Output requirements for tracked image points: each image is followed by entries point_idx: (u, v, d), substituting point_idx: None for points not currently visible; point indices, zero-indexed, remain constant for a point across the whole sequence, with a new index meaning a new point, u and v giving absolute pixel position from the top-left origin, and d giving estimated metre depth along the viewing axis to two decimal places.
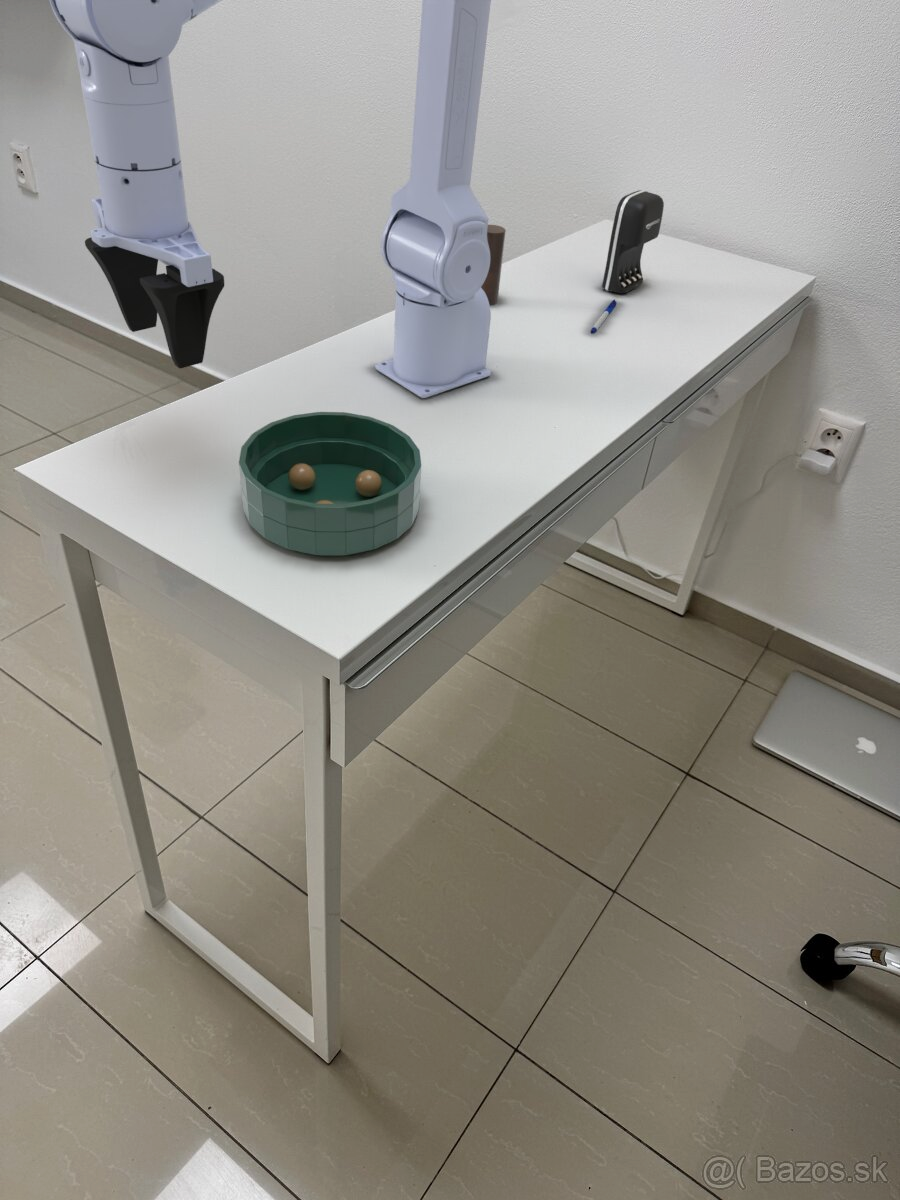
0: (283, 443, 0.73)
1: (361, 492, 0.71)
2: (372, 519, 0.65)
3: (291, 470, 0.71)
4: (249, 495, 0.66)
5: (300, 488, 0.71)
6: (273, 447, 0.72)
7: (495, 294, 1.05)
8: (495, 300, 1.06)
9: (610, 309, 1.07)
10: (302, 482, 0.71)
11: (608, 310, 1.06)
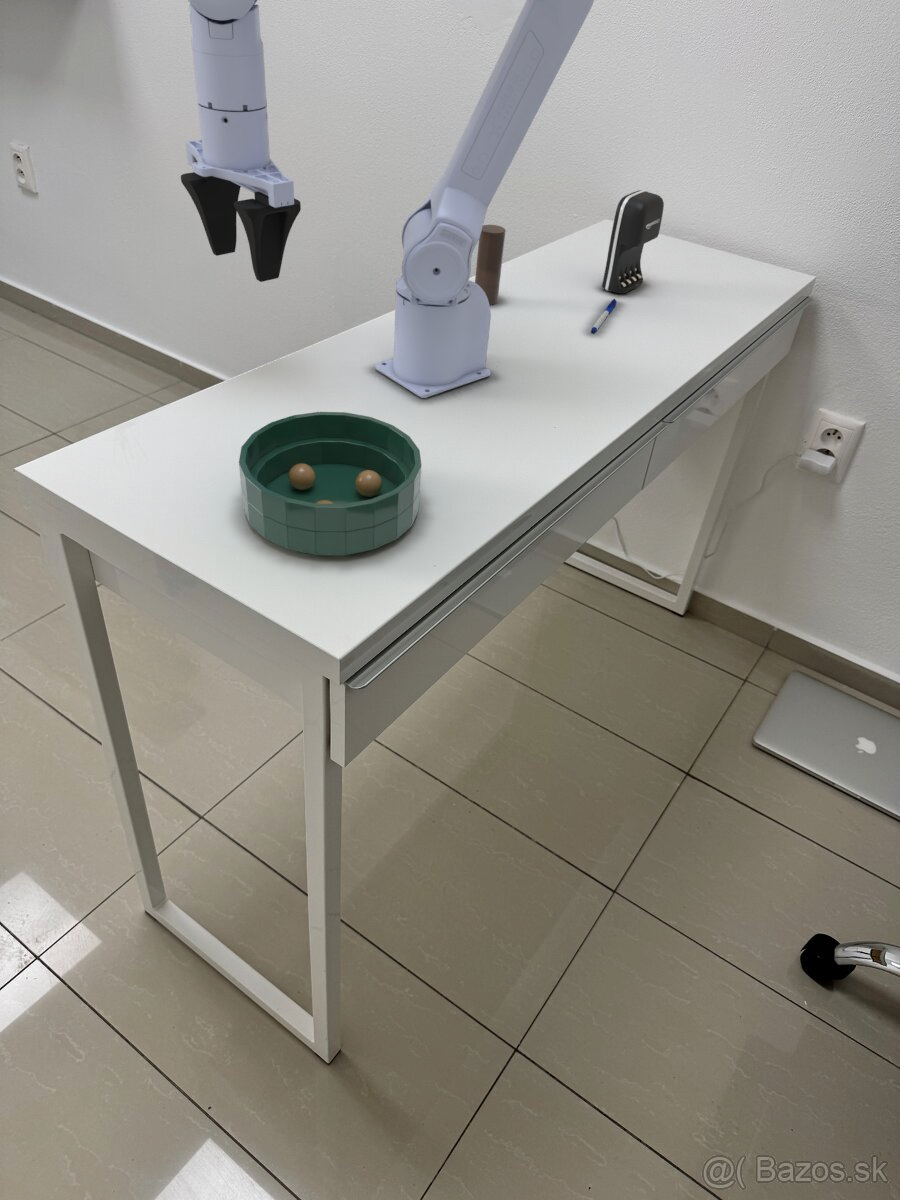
0: (283, 443, 0.73)
1: (361, 492, 0.71)
2: (372, 519, 0.65)
3: (291, 470, 0.71)
4: (249, 495, 0.66)
5: (300, 488, 0.71)
6: (273, 447, 0.72)
7: (495, 294, 1.05)
8: (495, 300, 1.06)
9: (610, 308, 1.07)
10: (302, 482, 0.71)
11: (608, 310, 1.06)
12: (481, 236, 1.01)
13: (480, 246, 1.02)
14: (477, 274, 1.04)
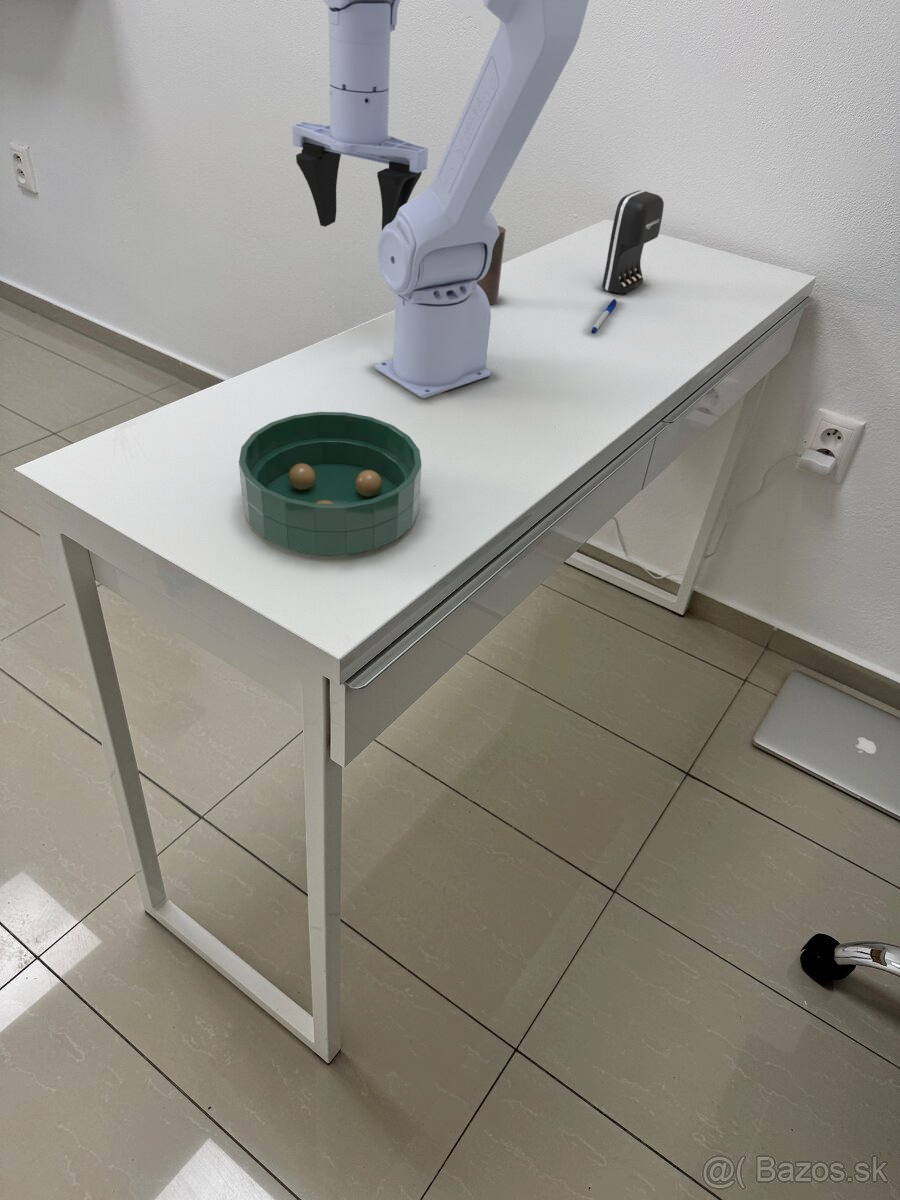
0: (283, 443, 0.73)
1: (361, 492, 0.71)
2: (372, 519, 0.65)
3: (291, 470, 0.71)
4: (249, 495, 0.66)
5: (300, 488, 0.71)
6: (273, 447, 0.72)
7: (495, 294, 1.05)
8: (495, 300, 1.06)
9: (610, 308, 1.07)
10: (302, 482, 0.71)
11: (608, 310, 1.06)
12: None
13: None
14: None
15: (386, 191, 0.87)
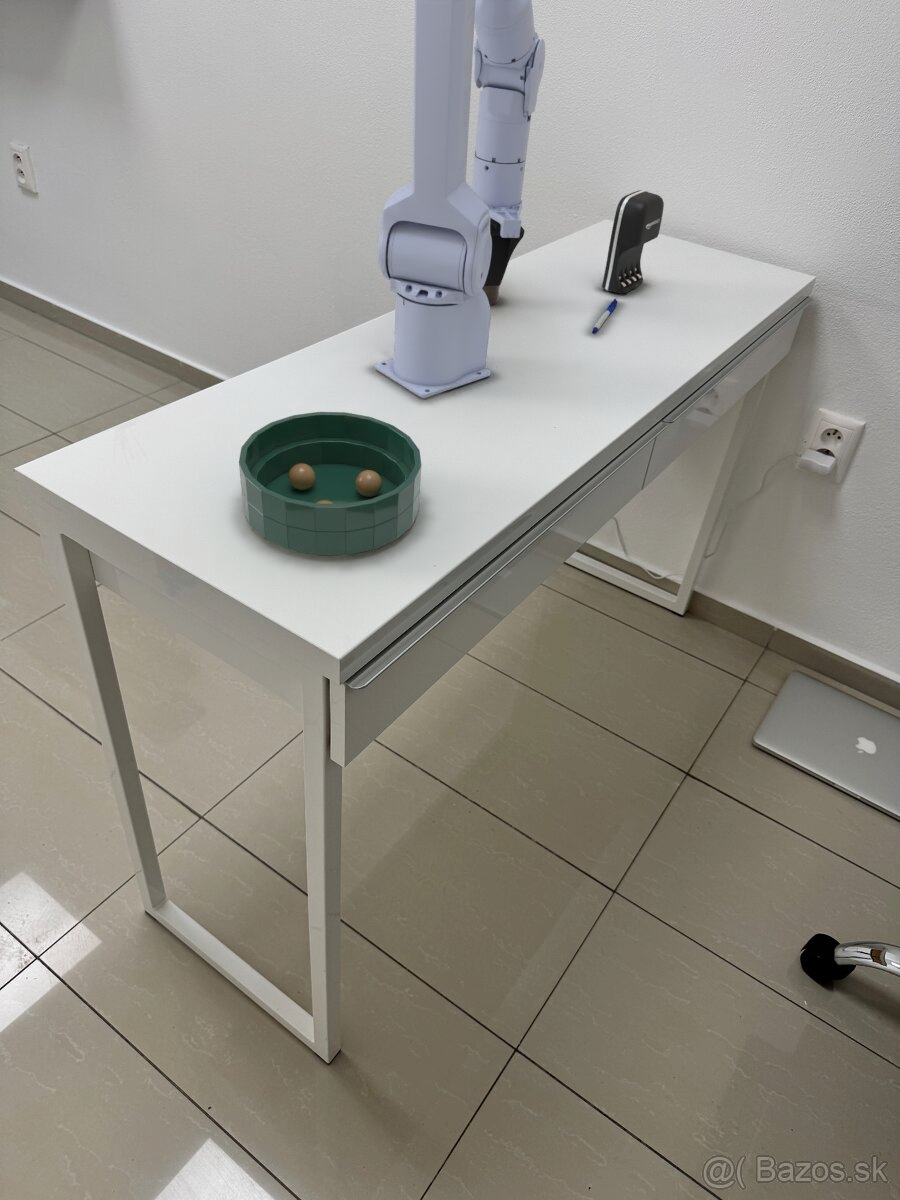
0: (283, 443, 0.73)
1: (361, 492, 0.71)
2: (372, 519, 0.65)
3: (291, 470, 0.71)
4: (249, 495, 0.66)
5: (300, 488, 0.71)
6: (273, 447, 0.72)
7: (495, 294, 1.05)
8: (495, 300, 1.06)
9: (611, 308, 1.07)
10: (302, 482, 0.71)
11: (609, 310, 1.06)
12: None
13: None
14: None
15: None
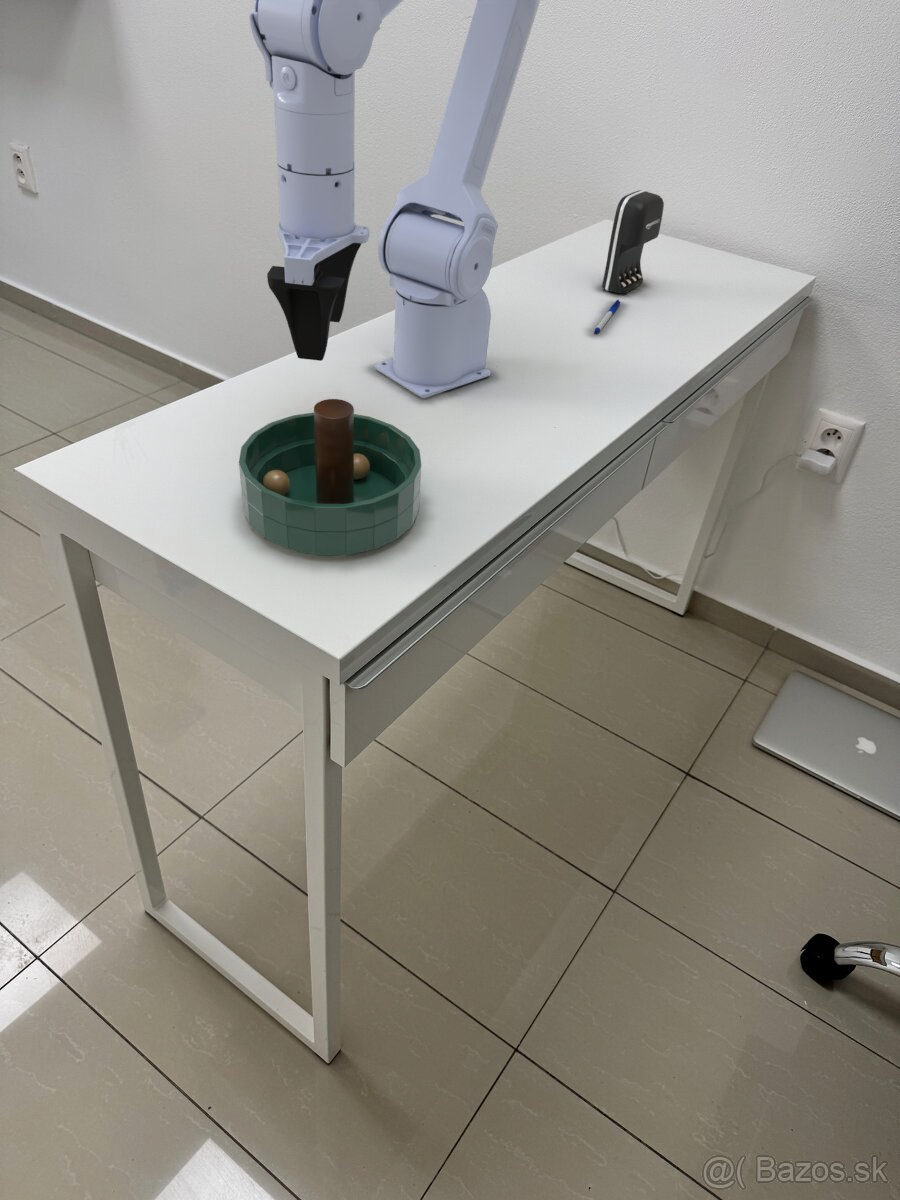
0: (283, 443, 0.73)
1: None
2: (372, 519, 0.65)
3: None
4: (249, 495, 0.66)
5: (289, 484, 0.70)
6: (273, 447, 0.72)
7: None
8: None
9: (614, 309, 1.07)
10: (285, 487, 0.70)
11: (611, 310, 1.06)
12: None
13: None
14: None
15: None
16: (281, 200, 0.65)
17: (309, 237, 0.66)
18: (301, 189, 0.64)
